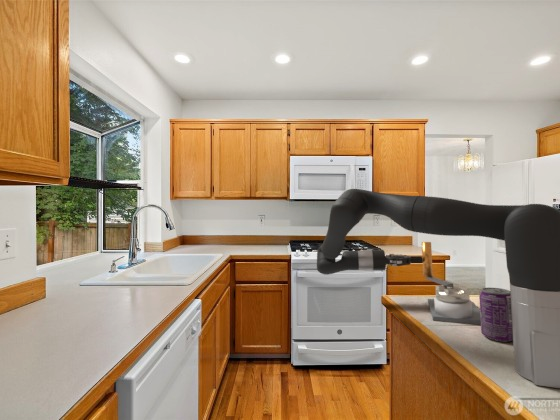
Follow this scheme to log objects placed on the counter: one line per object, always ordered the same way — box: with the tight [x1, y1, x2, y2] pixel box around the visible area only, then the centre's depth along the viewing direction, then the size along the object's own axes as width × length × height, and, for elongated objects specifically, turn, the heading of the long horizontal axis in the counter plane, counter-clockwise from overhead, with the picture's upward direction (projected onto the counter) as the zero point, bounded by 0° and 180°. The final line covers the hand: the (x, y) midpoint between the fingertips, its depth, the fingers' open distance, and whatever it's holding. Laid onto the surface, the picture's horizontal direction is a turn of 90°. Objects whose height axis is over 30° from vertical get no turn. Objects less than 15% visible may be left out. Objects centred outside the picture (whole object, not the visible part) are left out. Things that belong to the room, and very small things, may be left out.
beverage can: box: [478, 287, 513, 343], centre depth 74 cm, size 7×7×12 cm
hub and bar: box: [421, 241, 471, 303], centre depth 95 cm, size 19×9×16 cm, turn 3°
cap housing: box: [427, 296, 481, 326], centre depth 94 cm, size 20×14×5 cm
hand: (421, 259), depth 104 cm, fingers closed
